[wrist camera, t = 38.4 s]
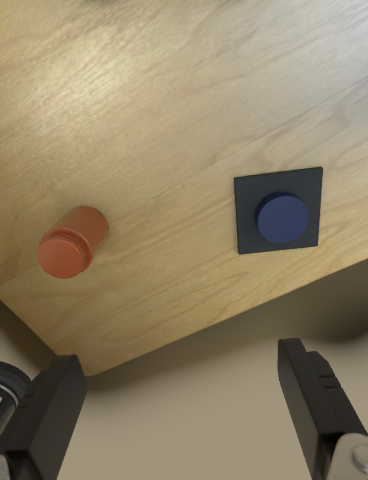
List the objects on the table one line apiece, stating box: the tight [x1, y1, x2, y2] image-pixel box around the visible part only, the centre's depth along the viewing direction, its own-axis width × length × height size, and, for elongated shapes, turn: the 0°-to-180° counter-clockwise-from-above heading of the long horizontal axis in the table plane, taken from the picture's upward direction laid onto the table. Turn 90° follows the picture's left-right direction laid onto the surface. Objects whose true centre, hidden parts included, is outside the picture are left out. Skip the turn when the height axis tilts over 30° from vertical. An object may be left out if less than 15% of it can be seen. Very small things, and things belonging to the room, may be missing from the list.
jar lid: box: [255, 192, 309, 243], centre depth 35 cm, size 6×6×2 cm
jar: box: [37, 206, 109, 279], centre depth 34 cm, size 6×6×9 cm
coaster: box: [234, 167, 323, 254], centre depth 36 cm, size 10×10×1 cm
